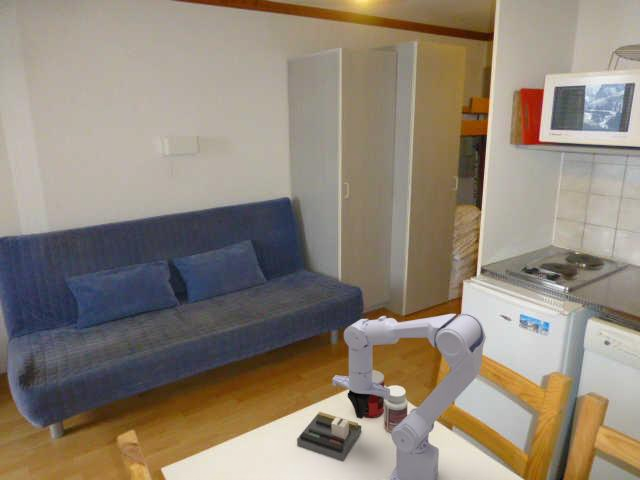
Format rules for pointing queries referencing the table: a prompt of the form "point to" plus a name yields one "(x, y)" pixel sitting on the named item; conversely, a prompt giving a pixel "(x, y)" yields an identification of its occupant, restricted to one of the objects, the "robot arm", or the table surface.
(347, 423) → the block
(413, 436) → the robot arm
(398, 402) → the pill bottle
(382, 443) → the table surface
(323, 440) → the breaker panel
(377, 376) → the canned food
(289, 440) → the table surface
